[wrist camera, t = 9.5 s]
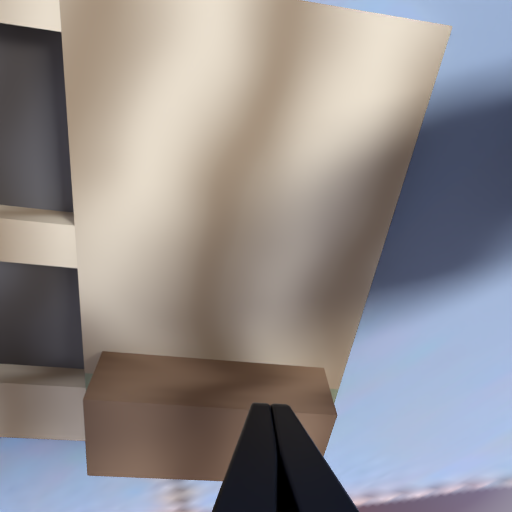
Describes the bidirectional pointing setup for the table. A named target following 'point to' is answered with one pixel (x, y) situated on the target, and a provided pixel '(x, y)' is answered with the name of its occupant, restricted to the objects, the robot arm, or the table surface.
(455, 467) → the table surface
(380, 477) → the table surface
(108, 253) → the trap deck
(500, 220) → the table surface
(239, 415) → the bar
